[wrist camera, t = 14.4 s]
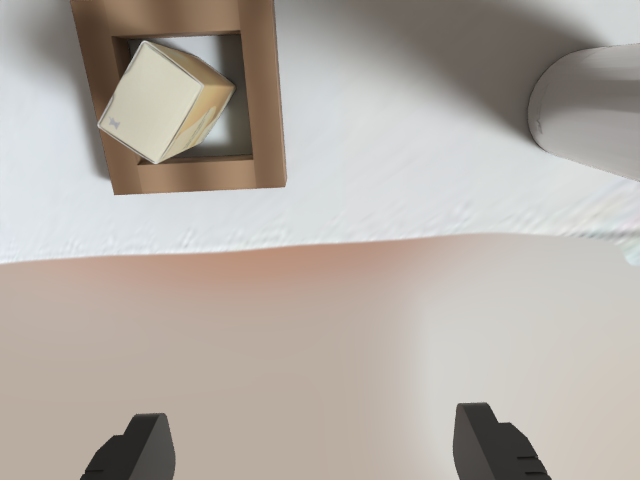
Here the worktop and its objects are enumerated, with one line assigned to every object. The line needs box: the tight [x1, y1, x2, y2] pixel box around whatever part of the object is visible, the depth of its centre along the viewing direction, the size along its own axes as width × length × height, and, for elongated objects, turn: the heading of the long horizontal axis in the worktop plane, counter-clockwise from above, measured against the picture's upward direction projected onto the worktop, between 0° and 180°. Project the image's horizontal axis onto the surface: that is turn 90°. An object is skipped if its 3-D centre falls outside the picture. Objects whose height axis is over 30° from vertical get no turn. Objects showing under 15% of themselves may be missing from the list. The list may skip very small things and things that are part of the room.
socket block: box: [70, 0, 287, 195], centre depth 35 cm, size 15×15×3 cm
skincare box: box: [97, 40, 236, 164], centre depth 31 cm, size 6×4×12 cm
